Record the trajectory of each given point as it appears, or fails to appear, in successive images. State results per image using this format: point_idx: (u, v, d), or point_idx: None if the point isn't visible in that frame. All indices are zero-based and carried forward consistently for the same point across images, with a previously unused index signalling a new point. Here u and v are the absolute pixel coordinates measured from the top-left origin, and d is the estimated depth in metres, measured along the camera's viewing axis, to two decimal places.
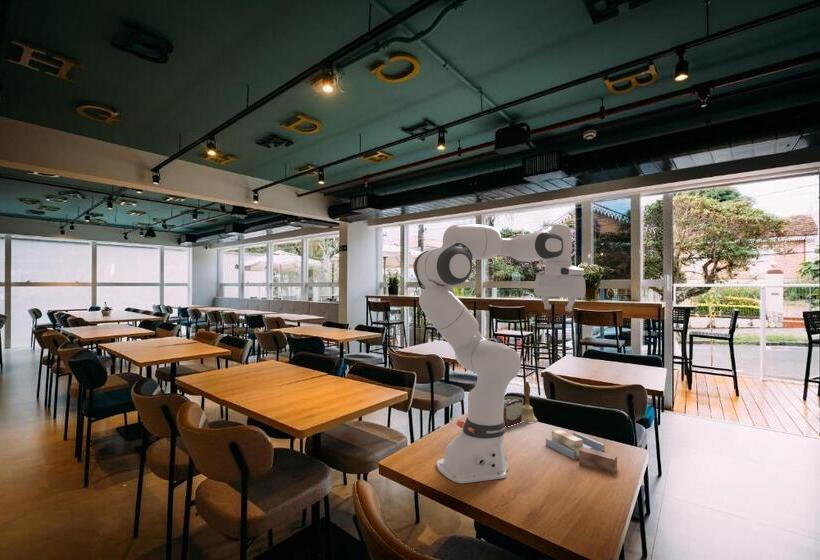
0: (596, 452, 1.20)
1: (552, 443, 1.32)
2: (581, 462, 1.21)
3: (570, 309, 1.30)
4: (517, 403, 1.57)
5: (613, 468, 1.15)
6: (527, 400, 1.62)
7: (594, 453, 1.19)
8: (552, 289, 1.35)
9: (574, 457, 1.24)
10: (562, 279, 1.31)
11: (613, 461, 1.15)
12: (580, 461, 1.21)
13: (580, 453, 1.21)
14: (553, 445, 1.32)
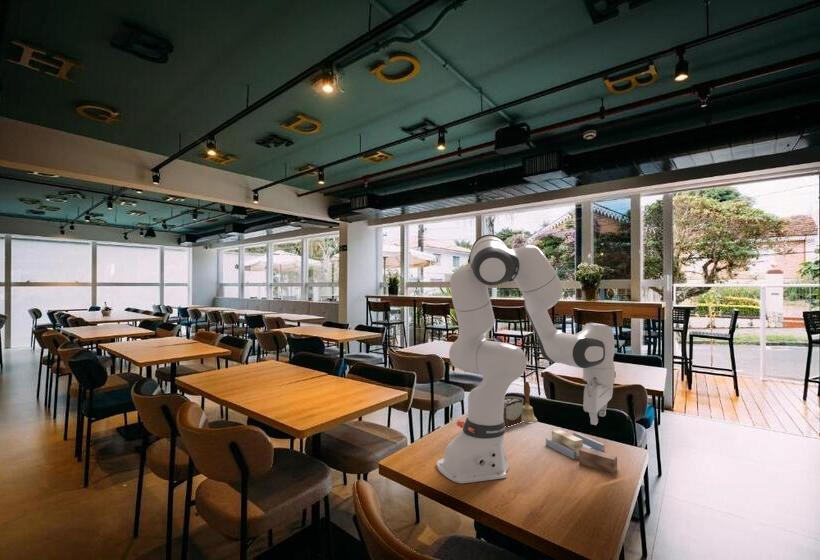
0: (596, 452, 1.20)
1: (552, 443, 1.32)
2: (581, 462, 1.21)
3: None
4: (517, 403, 1.57)
5: (613, 468, 1.15)
6: (527, 400, 1.62)
7: (594, 453, 1.19)
8: (604, 398, 1.18)
9: (574, 457, 1.24)
10: None
11: (613, 461, 1.15)
12: (580, 461, 1.21)
13: (580, 453, 1.21)
14: (553, 445, 1.32)
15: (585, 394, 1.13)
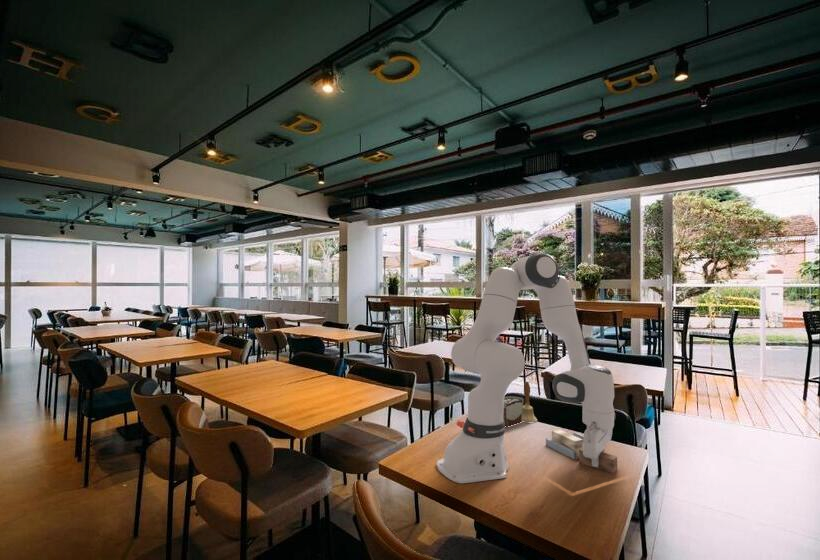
0: None
1: (552, 443, 1.32)
2: (581, 461, 1.21)
3: None
4: (517, 403, 1.57)
5: (612, 468, 1.15)
6: (527, 400, 1.62)
7: None
8: (603, 442, 1.18)
9: (574, 457, 1.24)
10: None
11: (612, 461, 1.15)
12: (580, 460, 1.21)
13: (580, 452, 1.22)
14: (553, 445, 1.32)
15: (585, 439, 1.13)
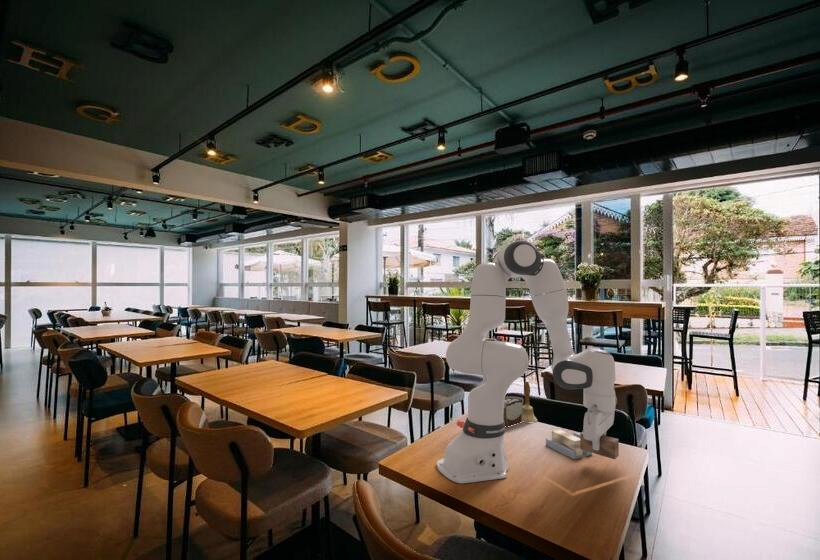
0: None
1: (552, 443, 1.32)
2: (582, 445, 1.20)
3: None
4: (517, 403, 1.57)
5: (614, 451, 1.14)
6: (527, 400, 1.62)
7: None
8: (604, 425, 1.17)
9: (574, 457, 1.24)
10: None
11: (614, 444, 1.14)
12: (581, 444, 1.21)
13: (581, 436, 1.21)
14: (553, 445, 1.32)
15: (585, 422, 1.12)
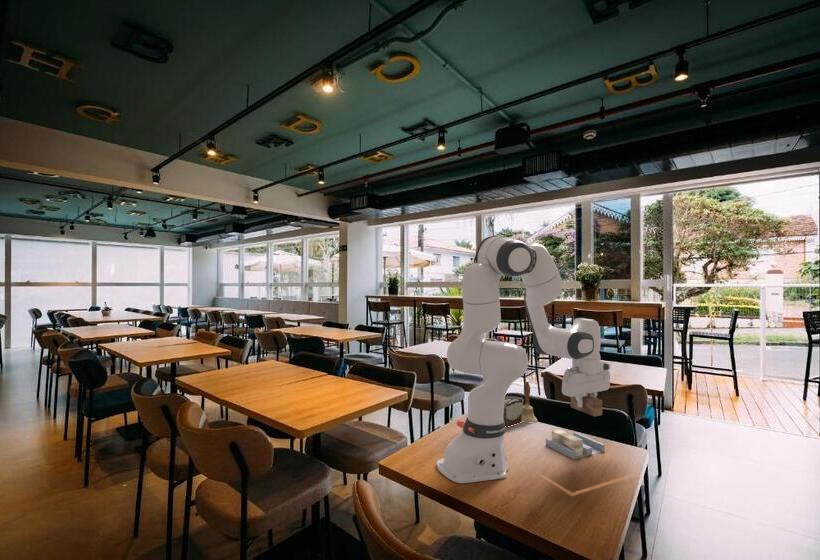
0: (585, 395, 1.33)
1: (552, 443, 1.32)
2: (572, 403, 1.35)
3: None
4: (517, 403, 1.57)
5: (594, 409, 1.27)
6: (527, 400, 1.62)
7: None
8: (589, 386, 1.30)
9: (574, 457, 1.24)
10: (599, 375, 1.32)
11: (594, 402, 1.27)
12: (571, 402, 1.36)
13: None
14: (553, 445, 1.32)
15: (563, 379, 1.29)
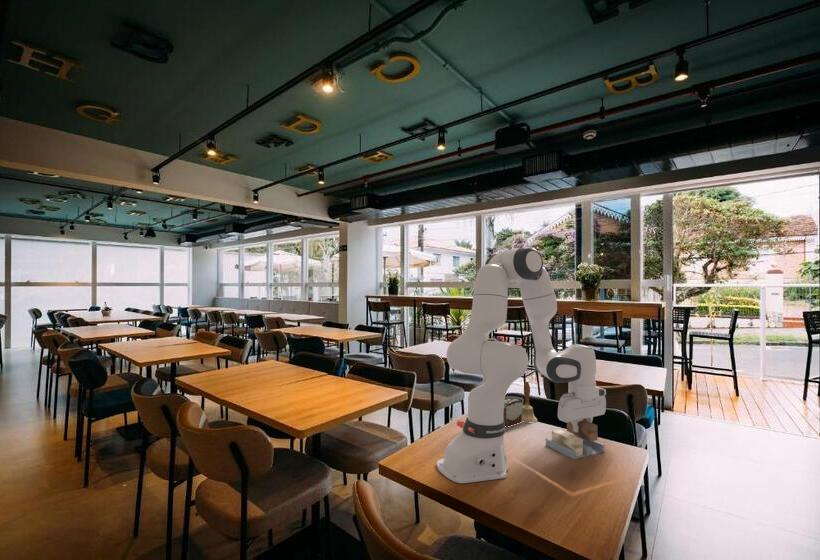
0: (581, 420, 1.35)
1: (552, 443, 1.32)
2: (568, 427, 1.38)
3: None
4: (517, 403, 1.57)
5: (589, 434, 1.30)
6: (527, 400, 1.62)
7: (578, 420, 1.35)
8: (584, 411, 1.33)
9: (574, 457, 1.24)
10: (594, 400, 1.35)
11: (589, 428, 1.30)
12: (567, 426, 1.38)
13: None
14: (553, 445, 1.32)
15: (559, 405, 1.32)
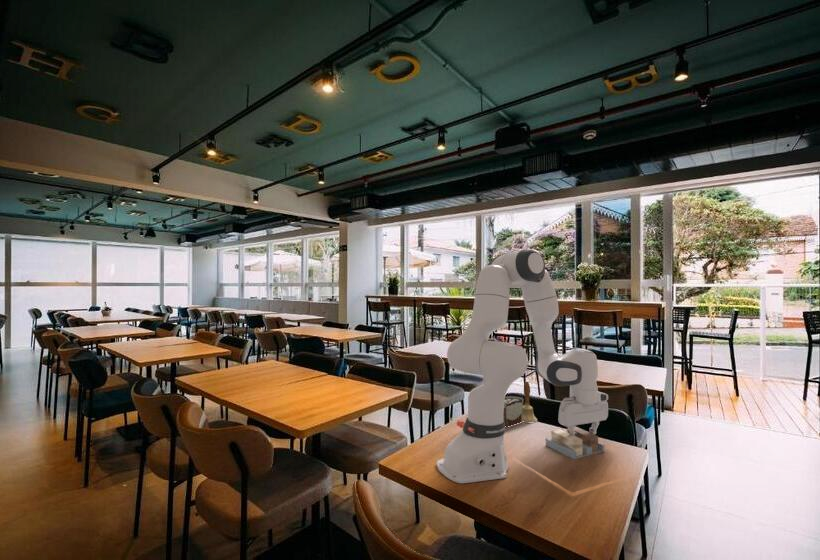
0: (581, 431, 1.35)
1: (552, 443, 1.32)
2: None
3: None
4: (517, 403, 1.57)
5: (589, 445, 1.29)
6: (527, 400, 1.62)
7: (578, 431, 1.35)
8: (586, 416, 1.32)
9: (574, 457, 1.24)
10: (596, 405, 1.33)
11: (589, 439, 1.29)
12: None
13: (568, 430, 1.38)
14: (553, 445, 1.32)
15: (560, 409, 1.31)
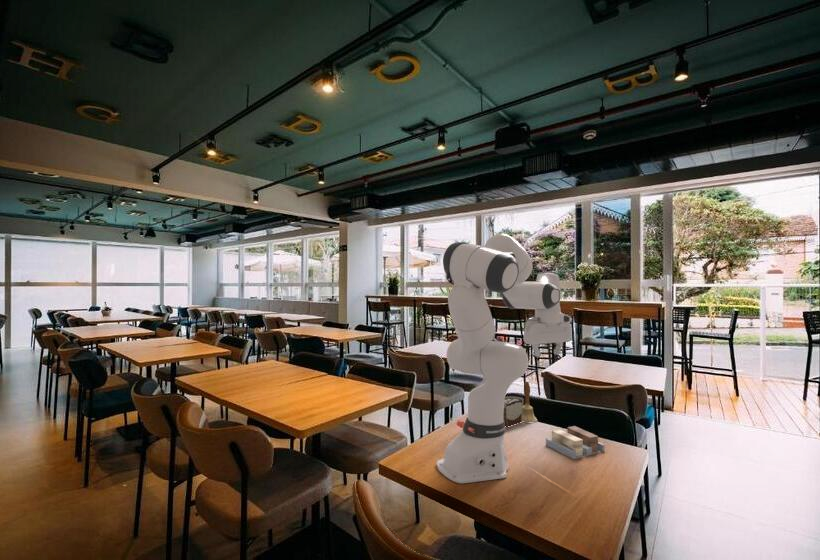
0: (581, 431, 1.35)
1: (552, 443, 1.32)
2: None
3: None
4: (517, 403, 1.57)
5: (589, 445, 1.29)
6: (527, 400, 1.62)
7: (578, 431, 1.35)
8: (549, 336, 1.39)
9: (574, 457, 1.24)
10: (559, 326, 1.41)
11: (589, 439, 1.29)
12: None
13: (568, 430, 1.38)
14: (553, 445, 1.32)
15: (525, 329, 1.38)
